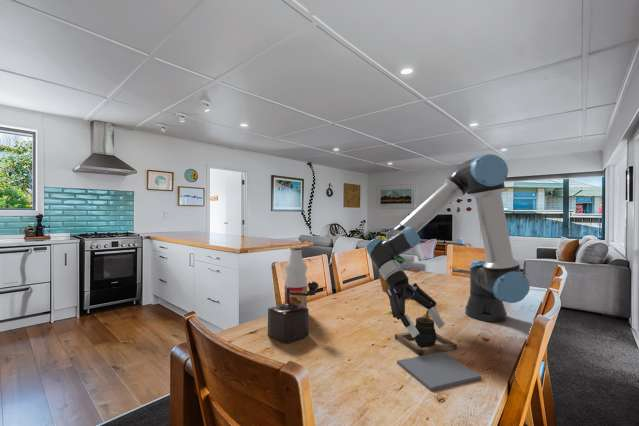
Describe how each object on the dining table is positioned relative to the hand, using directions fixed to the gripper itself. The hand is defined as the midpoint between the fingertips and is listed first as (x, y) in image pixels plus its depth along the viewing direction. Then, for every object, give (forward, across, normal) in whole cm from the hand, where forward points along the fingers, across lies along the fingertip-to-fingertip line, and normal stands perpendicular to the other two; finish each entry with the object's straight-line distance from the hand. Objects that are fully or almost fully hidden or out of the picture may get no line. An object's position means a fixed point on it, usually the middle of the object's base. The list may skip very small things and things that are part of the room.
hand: (429, 331), depth 97 cm
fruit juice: (-32, +20, -40) cm, 55 cm away
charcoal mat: (+11, +12, +4) cm, 16 cm away
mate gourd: (+2, 0, -5) cm, 5 cm away
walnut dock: (+2, 0, -5) cm, 5 cm away
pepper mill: (-20, +31, -27) cm, 46 cm away
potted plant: (-35, -41, -42) cm, 68 cm away
